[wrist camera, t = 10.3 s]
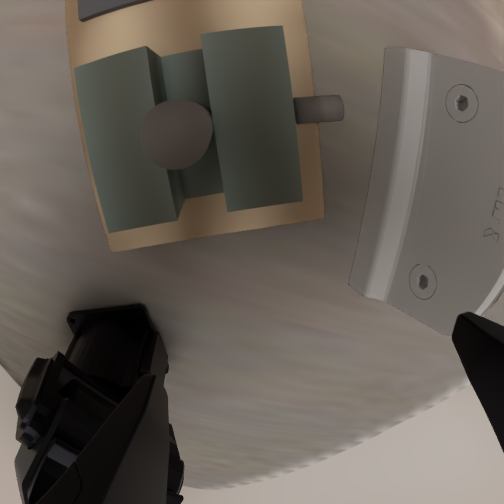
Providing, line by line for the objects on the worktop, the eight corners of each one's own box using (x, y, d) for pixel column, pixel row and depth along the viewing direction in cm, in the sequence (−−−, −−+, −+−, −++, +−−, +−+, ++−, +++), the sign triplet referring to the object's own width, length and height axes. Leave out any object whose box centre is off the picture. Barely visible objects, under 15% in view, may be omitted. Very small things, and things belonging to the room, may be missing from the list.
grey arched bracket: (385, 42, 15) (541, 53, 7) (428, 63, 17) (559, 85, 9) (346, 289, 22) (452, 377, 14) (390, 278, 24) (486, 348, 16)
